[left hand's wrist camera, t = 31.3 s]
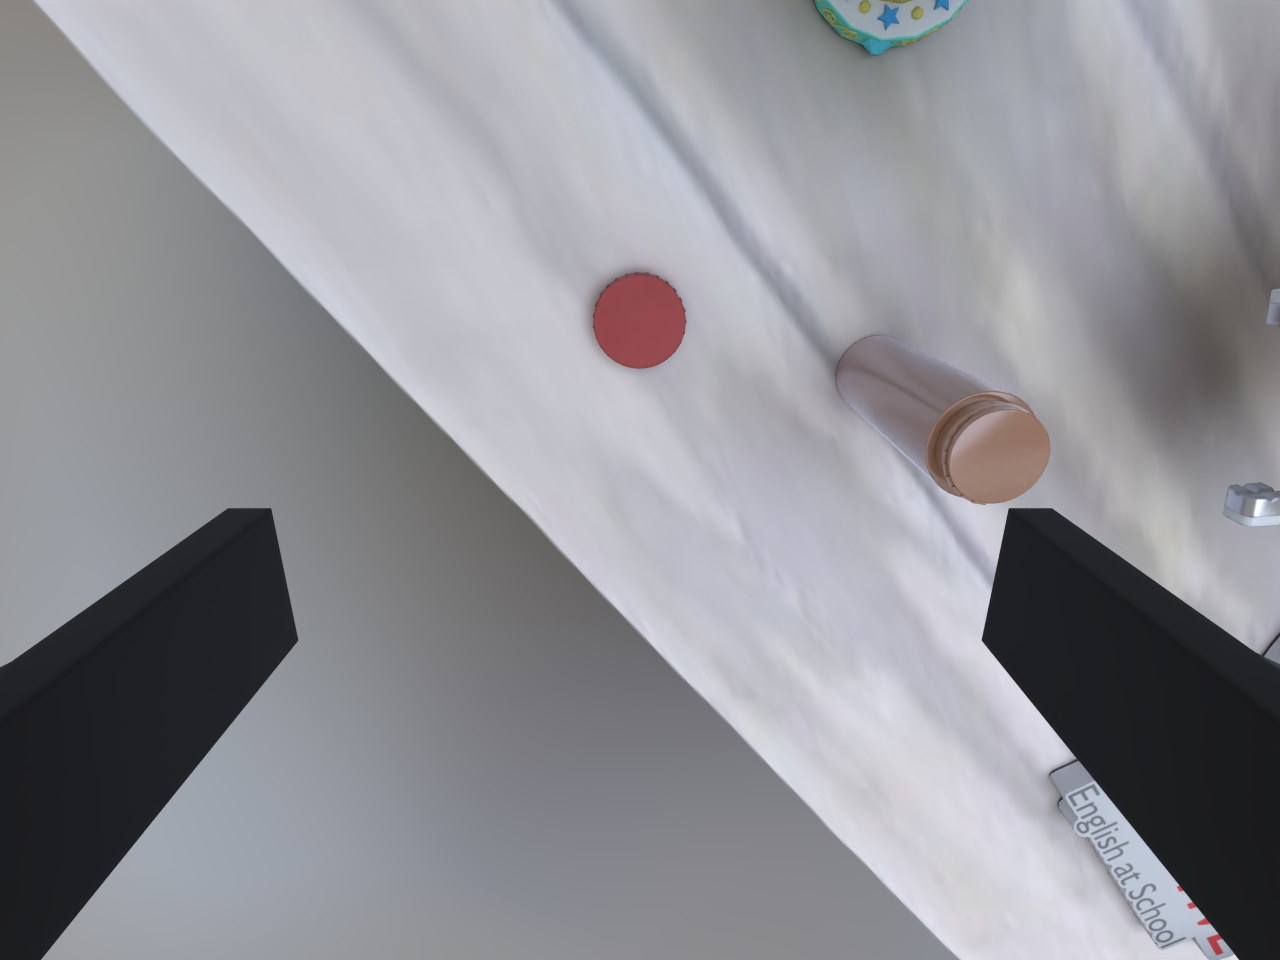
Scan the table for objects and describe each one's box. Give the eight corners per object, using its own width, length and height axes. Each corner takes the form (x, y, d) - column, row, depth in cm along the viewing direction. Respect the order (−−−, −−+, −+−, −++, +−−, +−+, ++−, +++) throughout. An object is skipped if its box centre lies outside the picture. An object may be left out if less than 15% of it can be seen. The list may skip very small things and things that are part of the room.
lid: (655, 380, 48) (656, 386, 46) (578, 335, 46) (575, 340, 45) (702, 302, 46) (704, 305, 44) (622, 254, 45) (621, 255, 43)
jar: (849, 327, 46) (965, 389, 30) (924, 343, 47) (1080, 413, 30) (825, 403, 48) (922, 500, 32) (898, 418, 48) (1031, 522, 32)
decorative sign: (1027, 755, 56) (1416, 566, 50) (1013, 736, 58) (1385, 552, 52) (1173, 987, 66) (1513, 853, 60) (1156, 963, 68) (1483, 832, 62)
